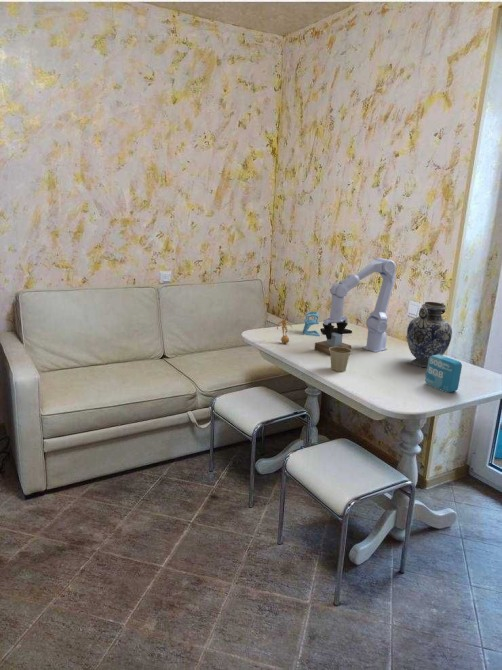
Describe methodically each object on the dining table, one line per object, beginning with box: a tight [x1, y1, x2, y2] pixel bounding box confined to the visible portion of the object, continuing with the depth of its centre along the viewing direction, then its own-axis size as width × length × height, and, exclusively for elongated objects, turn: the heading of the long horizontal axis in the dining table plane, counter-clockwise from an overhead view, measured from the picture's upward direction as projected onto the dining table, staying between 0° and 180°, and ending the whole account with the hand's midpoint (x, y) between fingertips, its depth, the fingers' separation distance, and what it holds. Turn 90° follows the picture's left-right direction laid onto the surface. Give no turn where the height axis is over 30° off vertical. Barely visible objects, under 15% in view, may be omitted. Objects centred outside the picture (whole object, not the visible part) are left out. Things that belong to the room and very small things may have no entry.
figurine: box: [276, 318, 293, 344], centre depth 236 cm, size 8×6×12 cm
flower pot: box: [329, 347, 353, 372], centre depth 201 cm, size 9×9×9 cm
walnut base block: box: [314, 340, 352, 356], centre depth 227 cm, size 12×12×4 cm
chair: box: [301, 311, 320, 337], centre depth 256 cm, size 8×8×12 cm
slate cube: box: [326, 331, 343, 346], centre depth 226 cm, size 5×5×5 cm
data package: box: [425, 355, 463, 393], centre depth 186 cm, size 12×4×12 cm, turn 30°
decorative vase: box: [406, 301, 453, 369], centre depth 212 cm, size 21×19×28 cm
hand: (333, 337), depth 226 cm, fingers open, 7 cm apart
